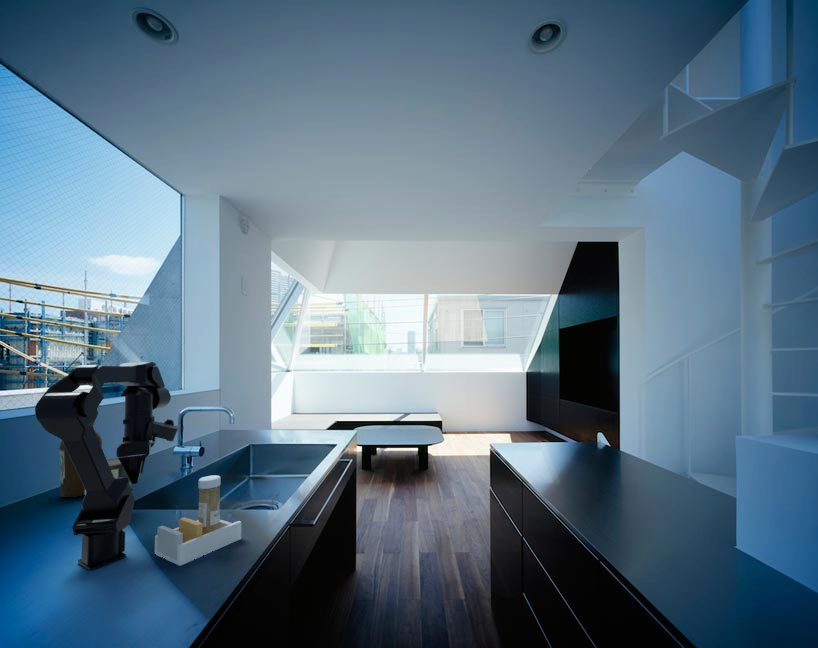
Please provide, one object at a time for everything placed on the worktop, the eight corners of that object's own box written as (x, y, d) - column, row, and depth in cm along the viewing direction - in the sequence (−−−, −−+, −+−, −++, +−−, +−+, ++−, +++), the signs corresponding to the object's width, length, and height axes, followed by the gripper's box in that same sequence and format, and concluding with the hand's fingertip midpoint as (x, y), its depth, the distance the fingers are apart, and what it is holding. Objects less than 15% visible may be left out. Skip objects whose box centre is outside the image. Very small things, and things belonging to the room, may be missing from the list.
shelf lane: (179, 565, 83) (180, 536, 83) (154, 554, 88) (155, 526, 88) (241, 538, 94) (241, 512, 95) (215, 529, 100) (215, 505, 100)
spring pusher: (196, 549, 87) (196, 525, 87) (178, 542, 91) (179, 519, 91) (202, 547, 88) (202, 523, 88) (184, 540, 92) (184, 517, 92)
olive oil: (101, 485, 138) (103, 410, 140) (99, 493, 130) (102, 413, 132) (59, 492, 132) (62, 413, 134) (55, 501, 124) (58, 417, 125)
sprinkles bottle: (221, 539, 92) (221, 478, 94) (198, 544, 90) (199, 481, 91) (218, 532, 96) (219, 473, 97) (196, 537, 94) (197, 476, 95)
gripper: (174, 414, 96) (173, 483, 95) (177, 406, 113) (177, 464, 111) (117, 419, 91) (115, 491, 90) (129, 410, 107) (127, 471, 106)
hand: (137, 478), depth 100 cm, fingers open, 9 cm apart
